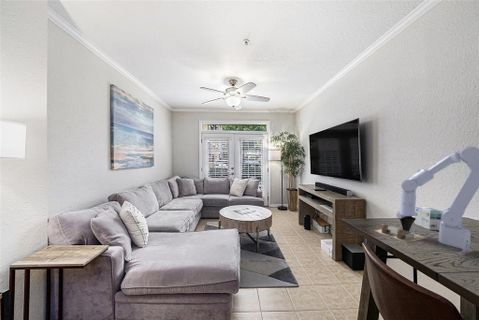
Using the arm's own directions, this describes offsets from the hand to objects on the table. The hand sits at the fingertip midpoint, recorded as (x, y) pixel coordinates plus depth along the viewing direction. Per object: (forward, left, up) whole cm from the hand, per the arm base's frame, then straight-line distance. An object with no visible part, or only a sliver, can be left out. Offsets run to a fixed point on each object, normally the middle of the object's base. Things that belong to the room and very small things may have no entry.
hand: (406, 231), depth 106 cm
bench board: (0, +5, -2) cm, 6 cm away
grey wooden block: (0, +7, -1) cm, 7 cm away
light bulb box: (+4, -28, -2) cm, 28 cm away
